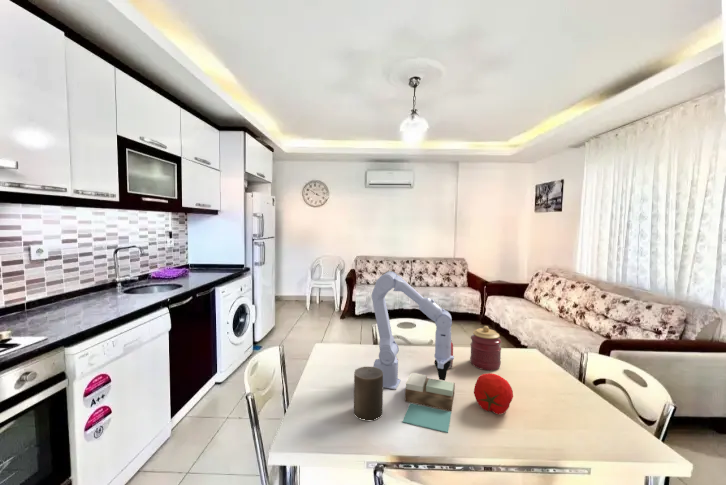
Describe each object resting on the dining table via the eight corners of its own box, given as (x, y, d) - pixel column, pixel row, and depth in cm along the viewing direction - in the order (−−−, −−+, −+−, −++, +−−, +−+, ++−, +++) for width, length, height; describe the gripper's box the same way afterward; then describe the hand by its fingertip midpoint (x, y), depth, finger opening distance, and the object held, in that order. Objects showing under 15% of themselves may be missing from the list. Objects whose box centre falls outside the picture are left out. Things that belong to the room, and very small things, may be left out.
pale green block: (425, 391, 110) (426, 385, 110) (428, 383, 116) (428, 378, 116) (452, 396, 107) (452, 390, 107) (453, 388, 113) (453, 382, 112)
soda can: (439, 361, 144) (440, 336, 143) (454, 365, 140) (455, 339, 139) (433, 367, 138) (434, 340, 138) (449, 371, 134) (449, 344, 134)
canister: (471, 369, 137) (472, 329, 136) (468, 357, 149) (469, 320, 148) (503, 372, 134) (504, 332, 133) (497, 359, 146) (498, 322, 145)
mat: (402, 422, 99) (402, 421, 99) (409, 403, 109) (409, 403, 109) (447, 433, 94) (448, 432, 94) (451, 412, 104) (451, 411, 104)
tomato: (490, 405, 114) (482, 425, 103) (471, 372, 117) (461, 388, 106) (523, 396, 108) (518, 416, 97) (502, 361, 111) (495, 377, 100)
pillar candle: (378, 424, 98) (379, 377, 97) (349, 418, 101) (350, 372, 100) (385, 407, 107) (386, 364, 107) (358, 402, 110) (359, 360, 110)
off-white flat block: (422, 392, 110) (422, 386, 109) (405, 388, 112) (405, 383, 112) (426, 380, 118) (426, 375, 118) (411, 377, 120) (411, 372, 120)
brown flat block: (405, 401, 111) (405, 390, 111) (412, 385, 122) (412, 375, 122) (451, 411, 105) (451, 399, 105) (454, 393, 116) (454, 383, 116)
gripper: (452, 352, 109) (451, 390, 109) (455, 338, 122) (454, 372, 123) (432, 349, 111) (431, 386, 112) (437, 336, 125) (436, 369, 125)
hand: (442, 379), depth 118 cm, fingers closed
